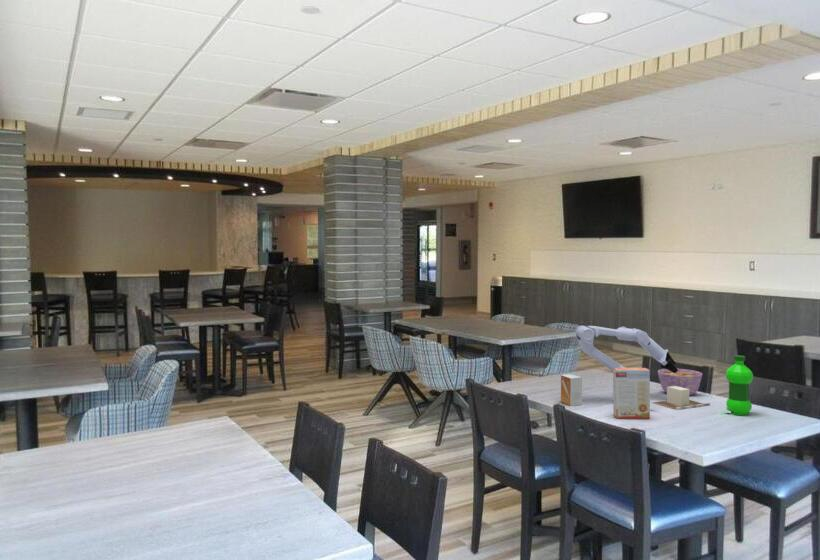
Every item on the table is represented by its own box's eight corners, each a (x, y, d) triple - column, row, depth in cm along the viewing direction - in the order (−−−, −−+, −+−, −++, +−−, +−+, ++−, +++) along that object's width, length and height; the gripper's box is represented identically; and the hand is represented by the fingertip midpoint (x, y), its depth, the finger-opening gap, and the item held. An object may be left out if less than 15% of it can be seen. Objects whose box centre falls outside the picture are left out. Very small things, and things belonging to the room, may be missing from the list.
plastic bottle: (738, 417, 261) (739, 358, 260) (719, 411, 272) (720, 354, 270) (757, 415, 264) (758, 357, 263) (738, 409, 274) (739, 353, 273)
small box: (560, 402, 290) (560, 374, 290) (572, 401, 292) (572, 373, 292) (570, 406, 283) (570, 378, 282) (582, 405, 285) (582, 377, 284)
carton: (689, 404, 278) (689, 389, 278) (680, 405, 276) (681, 390, 276) (675, 400, 285) (675, 385, 285) (666, 401, 283) (667, 386, 283)
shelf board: (677, 413, 268) (677, 408, 268) (651, 405, 282) (651, 400, 282) (710, 408, 276) (710, 403, 276) (683, 401, 290) (683, 396, 290)
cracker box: (646, 415, 266) (646, 367, 265) (650, 419, 260) (650, 369, 259) (612, 415, 267) (612, 366, 266) (615, 418, 261) (616, 369, 260)
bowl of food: (693, 391, 310) (693, 368, 310) (708, 401, 290) (709, 376, 290) (652, 391, 312) (652, 368, 312) (664, 400, 292) (664, 376, 292)
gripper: (662, 349, 280) (684, 369, 281) (658, 337, 294) (679, 356, 294) (650, 359, 283) (672, 379, 283) (646, 346, 296) (667, 365, 297)
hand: (675, 368), depth 289 cm, fingers open, 7 cm apart
